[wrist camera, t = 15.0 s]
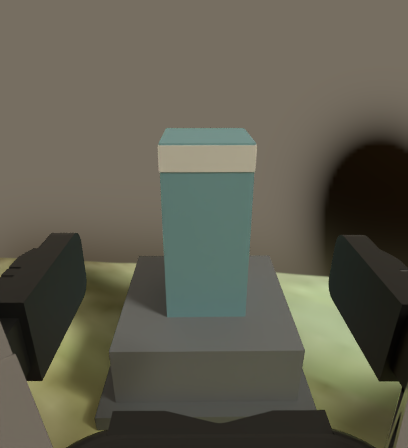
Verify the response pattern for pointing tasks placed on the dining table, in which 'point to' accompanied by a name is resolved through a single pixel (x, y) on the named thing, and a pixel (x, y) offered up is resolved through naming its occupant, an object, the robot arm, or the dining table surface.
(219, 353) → the podium
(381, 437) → the dining table surface
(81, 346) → the dining table surface
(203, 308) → the carton
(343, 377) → the dining table surface
